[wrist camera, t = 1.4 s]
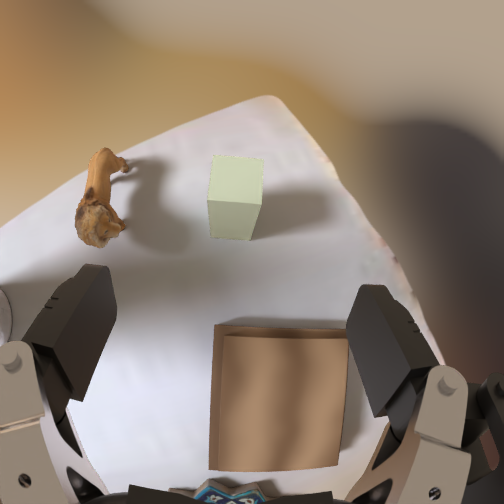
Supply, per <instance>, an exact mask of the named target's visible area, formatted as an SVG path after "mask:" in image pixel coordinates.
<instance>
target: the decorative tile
mask: <svg viewBox="0 0 504 504" xmlns="http://www.w3.org/2000/svg"><path fill="white" fill-rule="evenodd" d="M168 492H174V493H179V494H182V495H185V496H188V497H191V498H194V499H197V500H201V501H204V502H207V503H211V504H257V503H261V502H265V501H269V500H273V499H276V498H277V497H266V496H265V495H264V493H263V492H262V490H261V489H260V487H259V486H258V484H257V483H256V482H252V483H249V484H245V485H241V486H237V487H233V488H229V487H226V486H224V485H222V484H220V483H218V482H216V481H214V480H212V479H207V480H206V481H205V482H204V483H203V484H202V485H201V486H200V487H199V488H198V489H197V490H195V491H186V490H179V489H173V488H169V490H168Z"/></svg>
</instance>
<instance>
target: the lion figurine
mask: <svg viewBox="0 0 504 504" xmlns="http://www.w3.org/2000/svg"><path fill="white" fill-rule="evenodd" d="M128 169H129V168H128V165H127V163H126V162H125V160H124V159H123V158H122V157H120V158H117V157H116V156H115V155H114V154H113V152H112V151H111V150H110V149H108V148H103V149H101V150H100V151H99V152H96V153H95V154H94V155H93V157H92V158H91V160H90V162H89V166H88V178H87V183H86V188H85V193H84V196H83V199H81V202H80V203H79V204H78V208H77V209H76V216H75V228H76V230H77V234H78V237H79V238H80V239H81V240H83V241H84V242H85V243H86V244H87V245H92V246H95V247H98V248H103V247H104V246H105V245H106V244H107V243H108V242H109V240H110V238H116V237H118V236H119V232H120V231H122V230H123V229H124V228H125V226H126V225H125V224H124V223H123V221H122V220H121V219H120V218H118V216H117V213H116V212H115V211H114V209H113V208H112V207H111V205H110V204H109V203H110V197H111V182H110V175H111V174H112V173H115V172H118V171H119V170H120V171H121V172H123V173H125V172H127V171H128Z"/></svg>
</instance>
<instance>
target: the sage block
mask: <svg viewBox="0 0 504 504" xmlns="http://www.w3.org/2000/svg"><path fill="white" fill-rule="evenodd" d="M263 163H264V159H255V158H245V157H234V156H221V155H213V160H212V167H211V174H210V182H209V190H208V198H207V203H208V214H209V225H210V235H211V238H222V239H234V240H247V241H250V240H251V237H252V233H253V230H254V227H255V224H256V221H257V218H258V215H259V211H260V208H261V205H262V187H263Z"/></svg>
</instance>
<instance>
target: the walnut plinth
mask: <svg viewBox="0 0 504 504" xmlns="http://www.w3.org/2000/svg"><path fill="white" fill-rule="evenodd" d="M348 356H349V342H348V339H347V336H346V329H291V328H263V327H244V326H228V325H215V326H214V342H213V360H212V380H211V404H210V433H209V470H219V471H230V472H272V471H291V470H303V469H313V468H322V467H330V466H336V465H338V459H339V452H340V445H341V437H342V429H343V420H344V410H345V400H346V388H347V374H348Z"/></svg>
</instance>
